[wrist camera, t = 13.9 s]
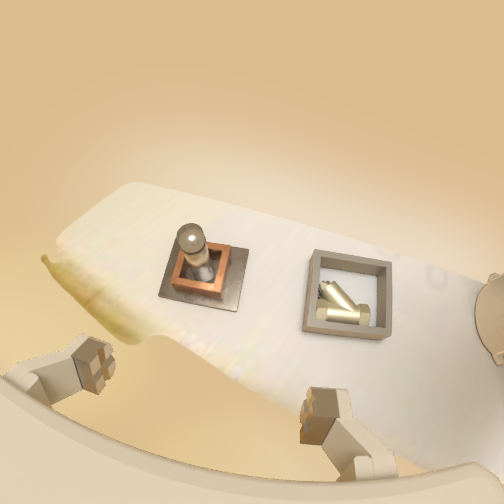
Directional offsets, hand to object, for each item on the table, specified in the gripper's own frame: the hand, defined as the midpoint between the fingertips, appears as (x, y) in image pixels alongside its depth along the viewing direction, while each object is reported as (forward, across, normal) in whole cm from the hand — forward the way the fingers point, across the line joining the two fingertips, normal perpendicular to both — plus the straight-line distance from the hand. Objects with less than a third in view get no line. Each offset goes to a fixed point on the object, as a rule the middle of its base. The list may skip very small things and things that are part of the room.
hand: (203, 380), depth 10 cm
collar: (+32, +8, +10) cm, 34 cm away
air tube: (+31, +8, +10) cm, 34 cm away
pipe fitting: (+31, -13, +12) cm, 35 cm away
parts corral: (+31, -14, +10) cm, 36 cm away
